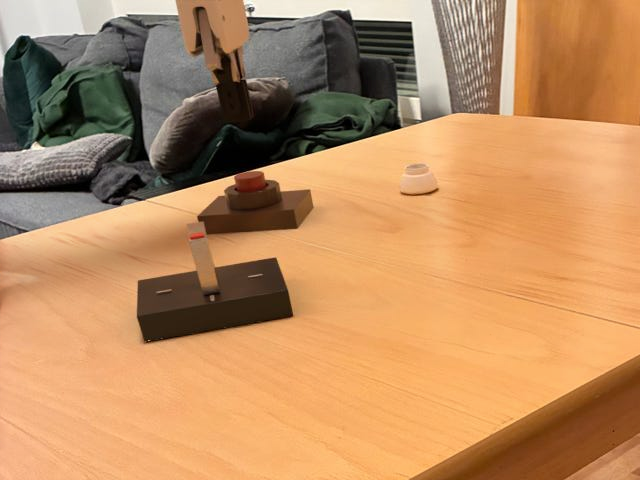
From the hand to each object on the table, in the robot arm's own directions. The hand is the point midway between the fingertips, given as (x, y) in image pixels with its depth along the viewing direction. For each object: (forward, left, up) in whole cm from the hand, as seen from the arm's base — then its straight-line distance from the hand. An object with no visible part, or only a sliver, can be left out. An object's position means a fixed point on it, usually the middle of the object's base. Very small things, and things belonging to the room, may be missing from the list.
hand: (239, 120), depth 113 cm
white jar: (+19, +9, -11) cm, 24 cm away
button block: (0, 0, -11) cm, 11 cm away
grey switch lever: (+4, -31, -9) cm, 33 cm away
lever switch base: (+4, -31, -11) cm, 33 cm away
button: (0, 0, -8) cm, 8 cm away
